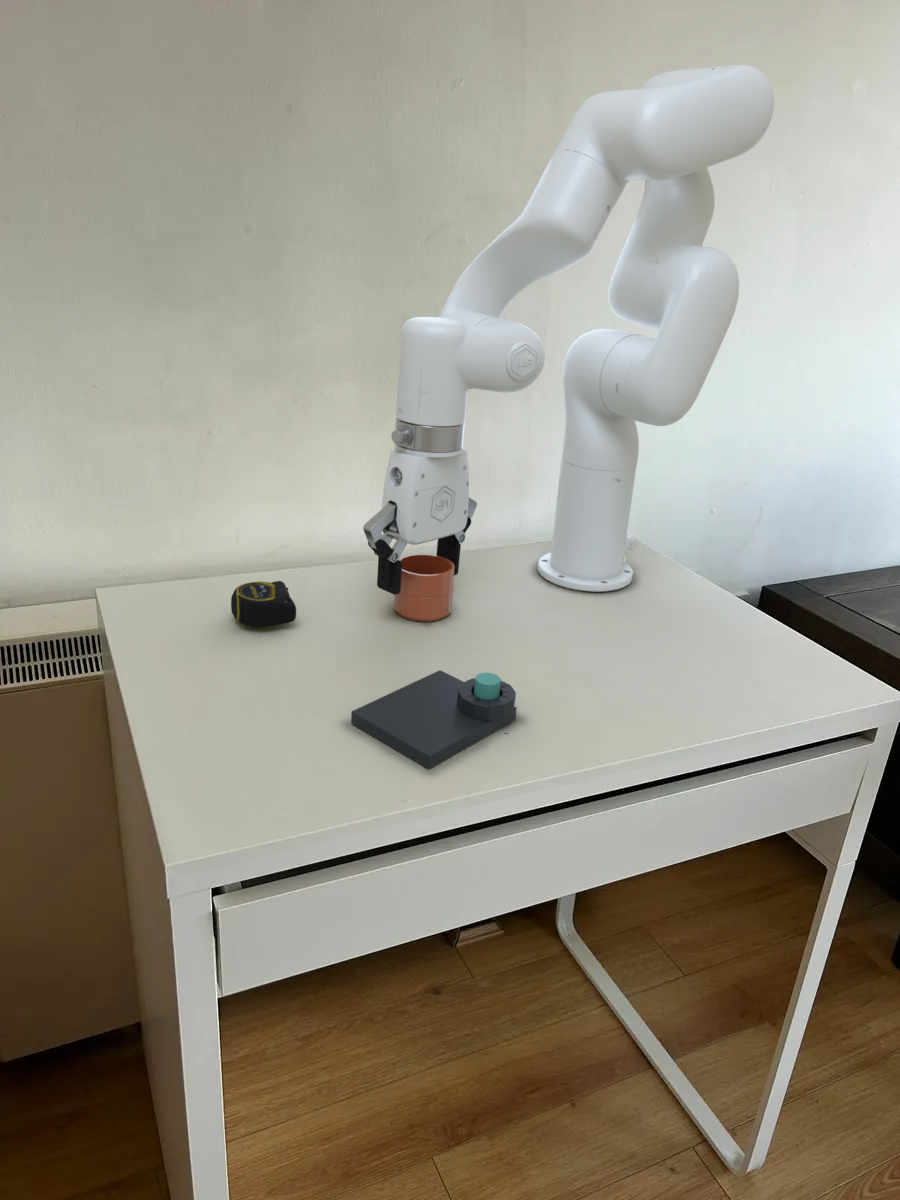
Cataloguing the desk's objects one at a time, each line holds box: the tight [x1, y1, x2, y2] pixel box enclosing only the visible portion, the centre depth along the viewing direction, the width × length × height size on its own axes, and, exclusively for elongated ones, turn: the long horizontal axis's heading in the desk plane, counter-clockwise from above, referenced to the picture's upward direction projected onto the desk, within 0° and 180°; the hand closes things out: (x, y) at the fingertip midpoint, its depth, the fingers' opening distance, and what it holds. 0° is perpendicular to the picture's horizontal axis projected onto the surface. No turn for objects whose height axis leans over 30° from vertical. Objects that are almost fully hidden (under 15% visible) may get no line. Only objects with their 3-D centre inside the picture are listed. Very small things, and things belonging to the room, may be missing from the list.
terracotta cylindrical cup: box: [393, 553, 455, 623], centre depth 106 cm, size 7×7×6 cm
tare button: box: [474, 672, 502, 700], centre depth 84 cm, size 2×2×2 cm
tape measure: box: [230, 580, 297, 629], centre depth 102 cm, size 7×7×4 cm
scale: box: [350, 669, 517, 770], centre depth 84 cm, size 13×10×3 cm
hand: (418, 581), depth 105 cm, fingers open, 9 cm apart
